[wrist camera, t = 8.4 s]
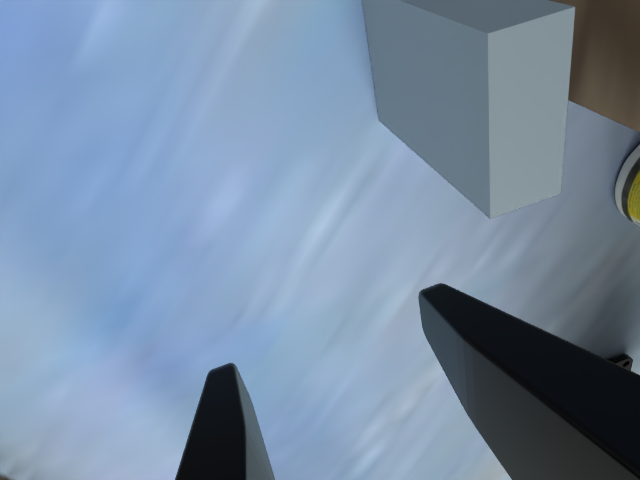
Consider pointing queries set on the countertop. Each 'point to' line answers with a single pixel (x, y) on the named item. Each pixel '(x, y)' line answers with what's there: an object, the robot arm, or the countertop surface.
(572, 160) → the countertop surface
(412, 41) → the block
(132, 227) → the countertop surface
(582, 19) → the brown rectangular block
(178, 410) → the countertop surface
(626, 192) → the supplement bottle
